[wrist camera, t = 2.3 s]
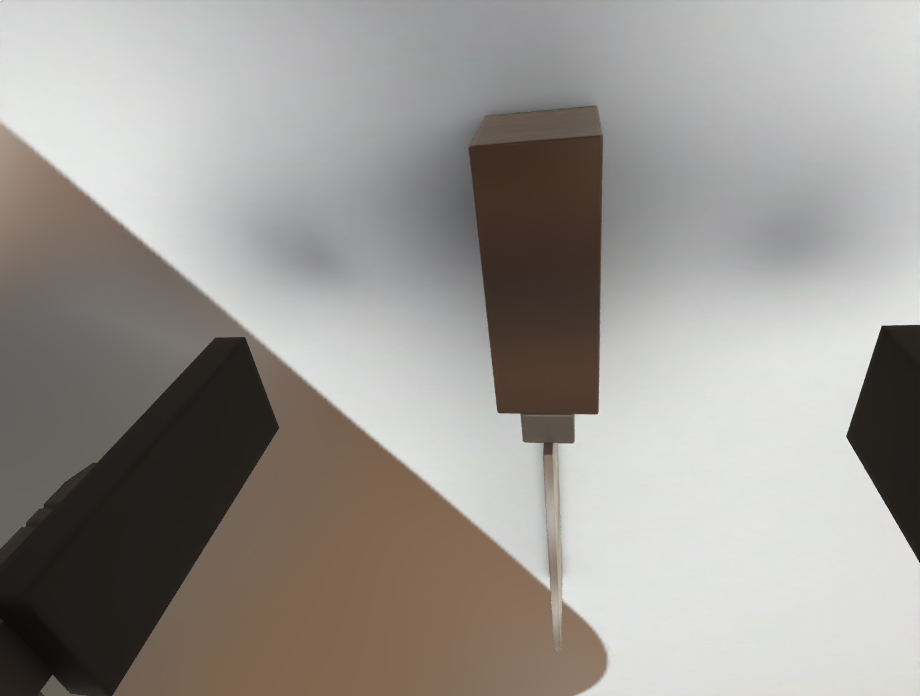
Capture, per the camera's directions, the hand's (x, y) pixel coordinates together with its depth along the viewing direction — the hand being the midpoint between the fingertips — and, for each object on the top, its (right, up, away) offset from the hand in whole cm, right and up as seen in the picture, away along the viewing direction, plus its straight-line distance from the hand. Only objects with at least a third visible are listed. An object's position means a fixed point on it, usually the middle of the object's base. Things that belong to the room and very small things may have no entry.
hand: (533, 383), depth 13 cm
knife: (+2, -1, +8) cm, 9 cm away
